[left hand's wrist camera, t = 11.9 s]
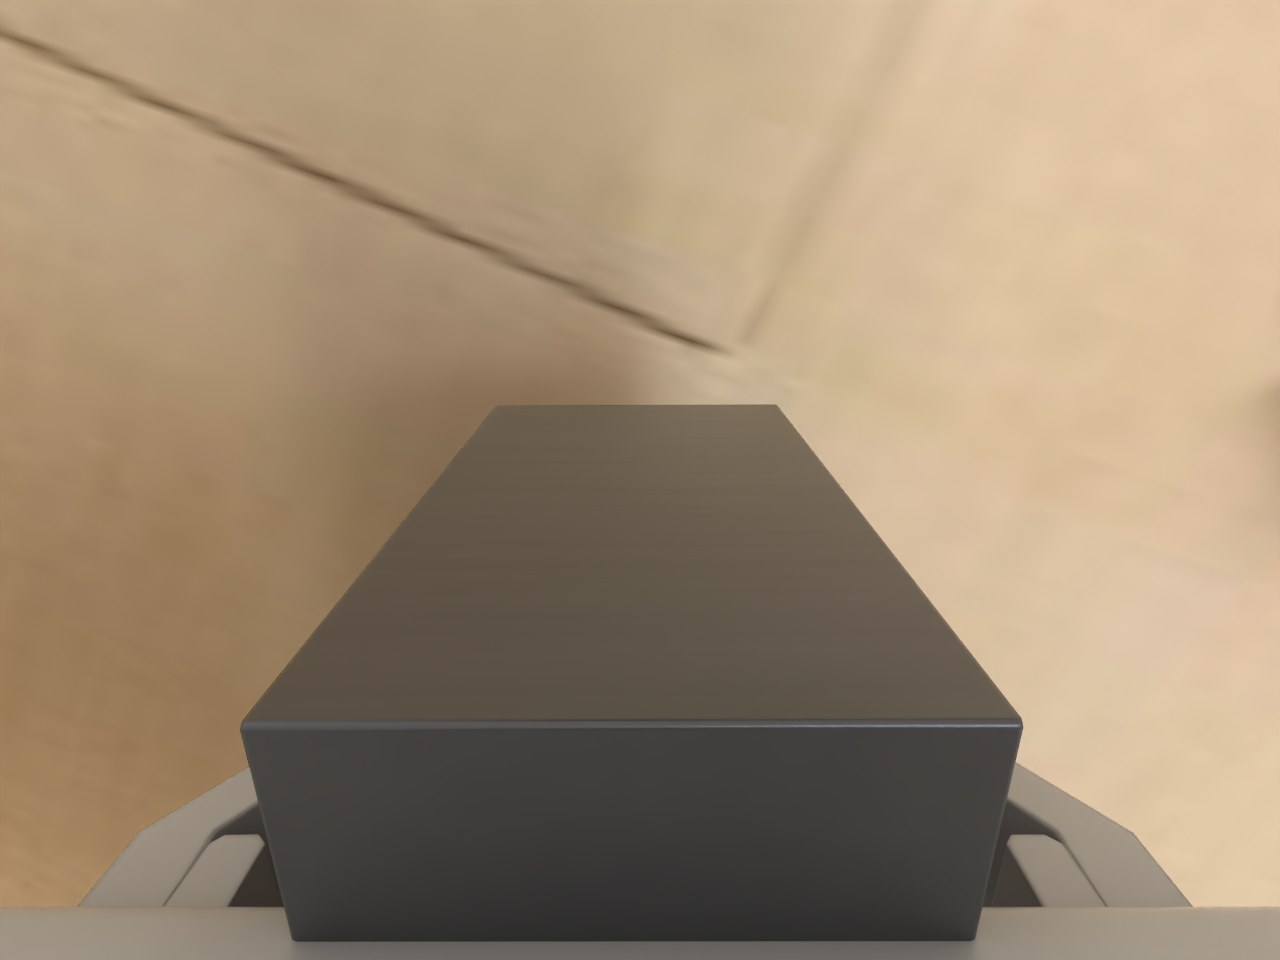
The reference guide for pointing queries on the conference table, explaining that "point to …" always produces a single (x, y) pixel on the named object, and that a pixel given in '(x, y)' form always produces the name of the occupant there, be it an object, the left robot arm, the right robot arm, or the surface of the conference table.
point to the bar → (633, 706)
